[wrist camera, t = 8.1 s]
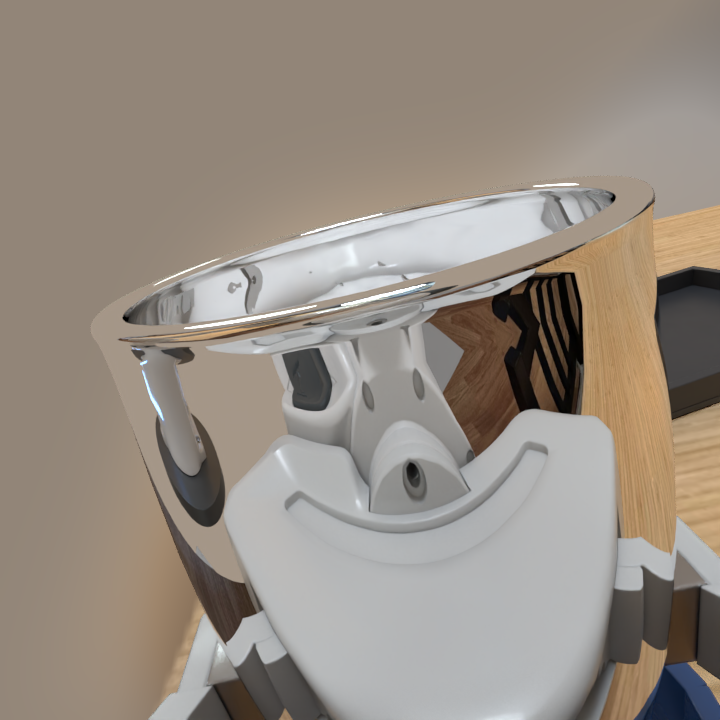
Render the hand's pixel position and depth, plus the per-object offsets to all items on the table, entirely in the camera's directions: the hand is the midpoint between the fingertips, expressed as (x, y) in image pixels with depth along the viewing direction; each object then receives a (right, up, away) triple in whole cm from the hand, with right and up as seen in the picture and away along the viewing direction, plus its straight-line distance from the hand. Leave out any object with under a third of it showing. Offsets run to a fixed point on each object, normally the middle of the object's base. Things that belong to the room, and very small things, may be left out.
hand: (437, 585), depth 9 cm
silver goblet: (+2, -8, +2) cm, 8 cm away
